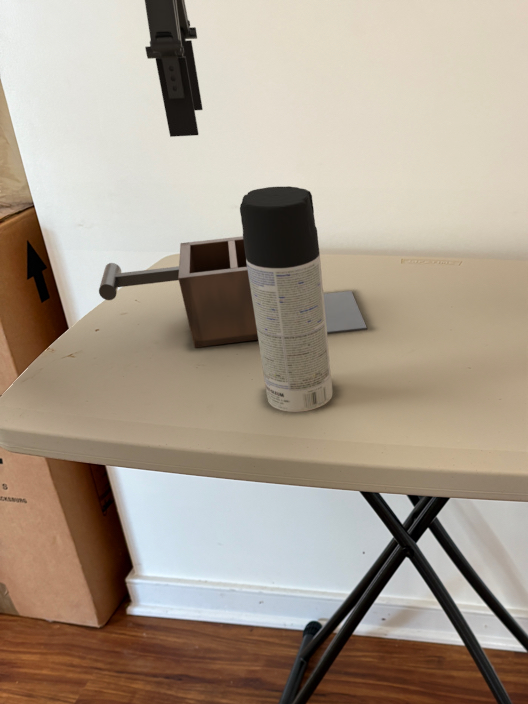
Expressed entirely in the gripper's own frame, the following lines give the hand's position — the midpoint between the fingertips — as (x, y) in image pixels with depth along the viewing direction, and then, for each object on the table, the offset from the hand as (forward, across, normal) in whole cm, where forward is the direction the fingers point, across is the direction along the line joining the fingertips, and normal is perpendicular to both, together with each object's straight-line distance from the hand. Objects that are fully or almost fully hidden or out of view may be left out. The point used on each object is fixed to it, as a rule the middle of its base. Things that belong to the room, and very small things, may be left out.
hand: (187, 122), depth 80 cm
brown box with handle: (+17, -2, -9) cm, 19 cm away
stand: (+22, -2, -13) cm, 26 cm away
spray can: (+22, -22, -8) cm, 33 cm away
